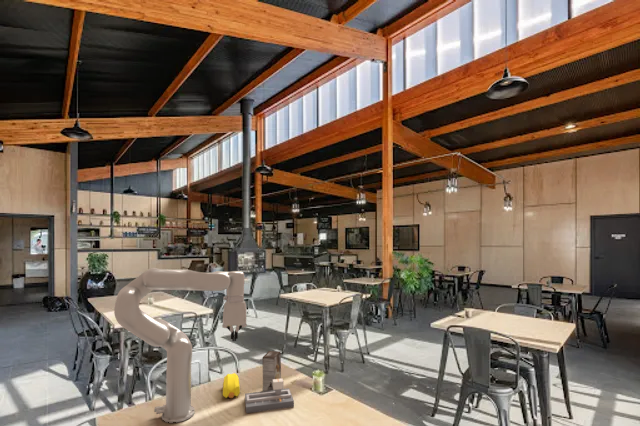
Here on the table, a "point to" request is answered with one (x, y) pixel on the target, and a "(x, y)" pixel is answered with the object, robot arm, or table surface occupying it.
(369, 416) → the table surface
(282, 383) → the fader tab
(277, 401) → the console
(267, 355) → the coffee box
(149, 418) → the table surface
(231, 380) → the yellow rounded capsule
